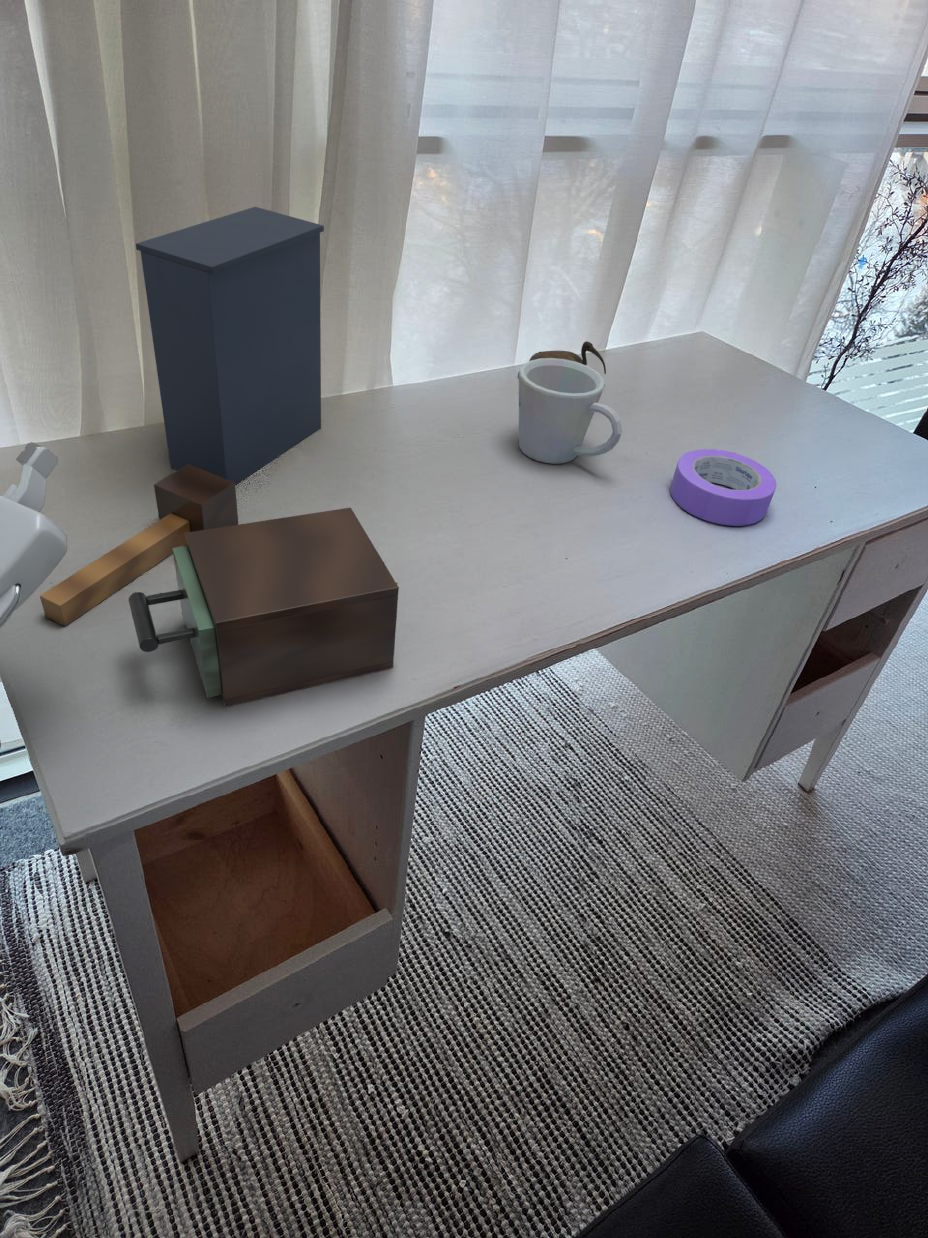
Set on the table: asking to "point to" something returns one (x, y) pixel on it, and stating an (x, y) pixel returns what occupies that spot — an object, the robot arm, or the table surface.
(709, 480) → the tape roll
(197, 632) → the drawer
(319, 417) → the stand
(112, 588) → the mallet
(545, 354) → the figurine
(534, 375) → the mug
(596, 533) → the table surface
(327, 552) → the cabinet
